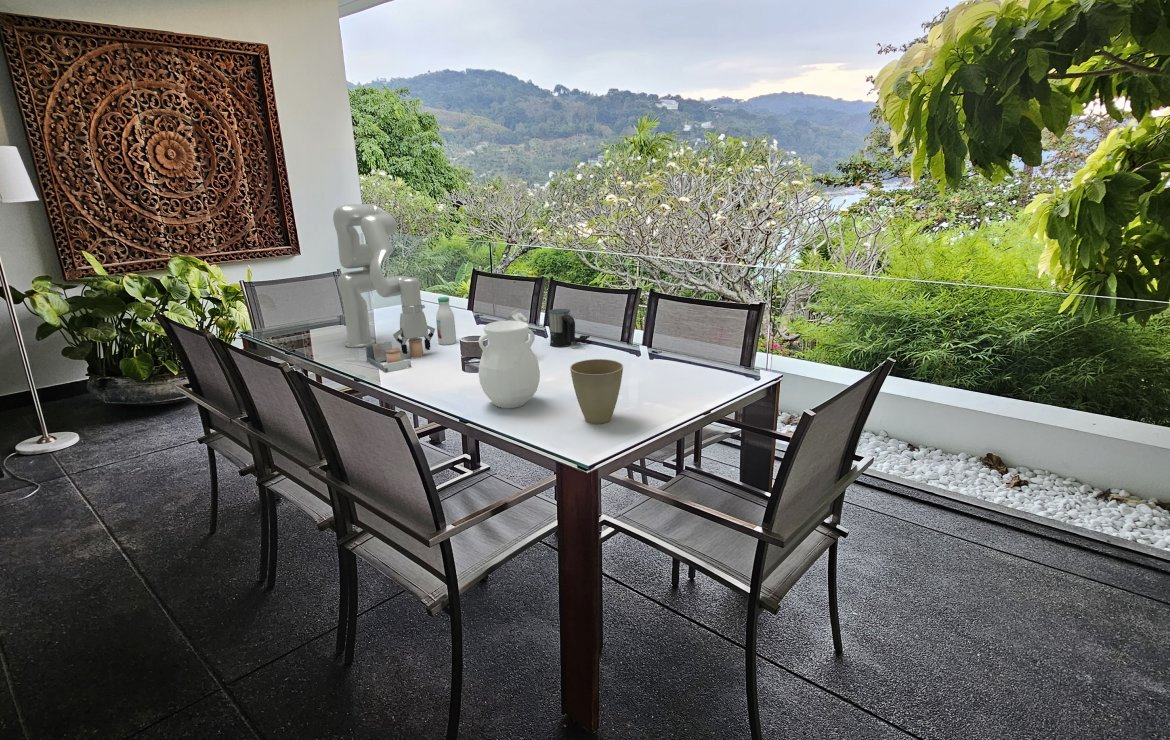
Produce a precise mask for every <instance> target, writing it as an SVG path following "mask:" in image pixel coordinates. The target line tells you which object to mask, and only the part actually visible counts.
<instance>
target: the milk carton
mask: <svg viewBox="0 0 1170 740" xmlns="http://www.w3.org/2000/svg"><path fill="white" fill-rule="evenodd" d="M509 314H510V315H509V316H507V318H506V319H504V321H521V322H525V323H527V324H528V325H529V322H528V321H529V319H528V318H527V317H526V316H524V314H523V313H521V311H520V308H518V309H516V310H513V311H510V313H509ZM529 338H530V336H529V333H528V334H527V336H526V338H525V339H524V342H526V341H528V339H529Z"/></svg>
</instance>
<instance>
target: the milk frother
mask: <svg viewBox="0 0 1170 740" xmlns="http://www.w3.org/2000/svg"><path fill="white" fill-rule="evenodd" d="M547 312H548V315H549V316H548V317H549V333H550V334H549V335H550V339H549V341H550V342H549V345H550V347H554V348H555V347H556V348H563V347H565V348H566V347H569V346H572V344H573V343H577V342H579V341H580V342H582V343H583V342H585V341H587V339H590V335H583V334H582V335H580V336H579V337H578V338H576V322H575V318H574V317H573V316H572V315H571V309H569V308H553V309H549V310H548V311H547ZM575 338H576V339H575Z"/></svg>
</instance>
